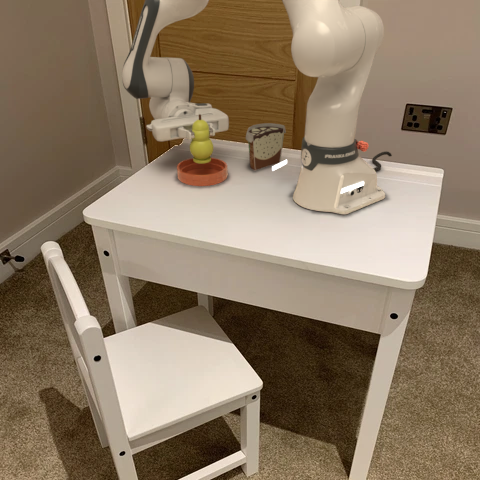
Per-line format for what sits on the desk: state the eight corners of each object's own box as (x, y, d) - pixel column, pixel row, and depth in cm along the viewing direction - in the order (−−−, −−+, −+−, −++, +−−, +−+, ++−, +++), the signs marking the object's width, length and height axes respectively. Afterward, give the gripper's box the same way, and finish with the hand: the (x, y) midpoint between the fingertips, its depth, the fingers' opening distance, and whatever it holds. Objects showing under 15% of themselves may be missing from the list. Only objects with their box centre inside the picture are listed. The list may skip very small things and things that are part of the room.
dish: (214, 164, 136) (214, 153, 134) (235, 181, 127) (235, 169, 125) (170, 173, 132) (169, 162, 130) (189, 190, 123) (188, 179, 121)
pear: (207, 154, 130) (205, 109, 123) (217, 162, 126) (216, 116, 119) (186, 158, 128) (183, 113, 121) (196, 166, 123) (193, 119, 116)
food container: (269, 155, 142) (270, 119, 135) (284, 161, 138) (286, 125, 132) (236, 166, 135) (236, 128, 129) (250, 172, 132) (251, 134, 125)
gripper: (142, 112, 126) (161, 127, 116) (214, 102, 133) (238, 115, 123) (145, 137, 130) (164, 154, 120) (215, 126, 137) (238, 141, 127)
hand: (202, 134), depth 122 cm, fingers closed on pear, 4 cm apart
